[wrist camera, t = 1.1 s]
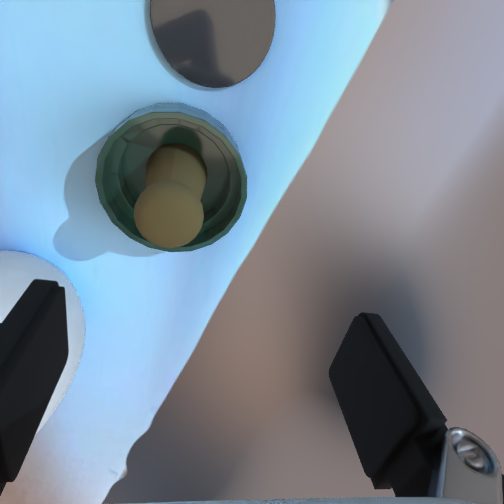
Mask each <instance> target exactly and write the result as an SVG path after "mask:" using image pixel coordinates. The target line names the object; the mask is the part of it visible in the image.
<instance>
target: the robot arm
mask: <svg viewBox="0 0 504 504" xmlns="http://www.w3.org/2000/svg"><path fill="white" fill-rule="evenodd" d="M68 354H69V347H68V330H67V313H66V296H65V288H64V287H62V286H59V284H58V282H57V281H53V280H43V279H34V280H33V281H32V282H31V283H30V285H29V286H28V288H27V289H26V290H25V292H24V293H23V294H22V296H21V297H20V298H19V300H18V301H17V303H16V304H15V305H14V307H13V308H12V309H11V311H10V312H9V313H8V315H7V316H6V318H5V319H4V320H3V322H2V323H0V496H1V493H2V491H3V489H4V487H5V485H6V482H13V481H14V480H15V479H16V477H17V475H18V473H19V471H20V468H21V466H22V464H23V461H24V459H25V457H26V455H27V452H28V450H29V448H30V445H31V443H32V441H33V438H34V436H35V434H36V432H37V429H38V427H39V425H40V422H41V420H42V418H43V416H44V413H45V411H46V409H47V406H48V404H49V402H50V400H51V397H52V395H53V393H54V390H55V388H56V386H57V383H58V381H59V379H60V377H61V374H62V372H63V370H64V367H65V365H66V363H67V359H68ZM329 377H330V381H331V383H332V386H333V389H334V391H335V394H336V397H337V399H338V402H339V405H340V407H341V410H342V413H343V415H344V418H345V421H346V424H347V426H348V429H349V432H350V434H351V437H352V440H353V442H354V445H355V448H356V450H357V453H358V456H359V459H360V461H361V464H362V467H363V469H364V472H365V474H366V475H367V476H368V477H369V478H371V480H372V483H373V486H374V489H391V488H393V490H394V493H395V495H396V496H395V497H366V498H365V497H364V498H314V499H313V498H311V499H269V500H230V501H192V502H160V503H129V504H504V475H503V474H502V472H501V466H500V463H499V460H498V459H497V456H496V455H495V453H494V452H493V451H492V449H491V448H490V447H489V446H488V445H487V444H486V443H485V442H484V441H483V440H482V439H481V438H479V437H478V436H477V435H475V434H474V433H472V432H470V431H468V430H466V429H463V428H459V427H454V428H450V429H449V430H448V429H447V427H446V426H445V422H446V421H447V419H446V418H445V416H444V415H443V413H442V411H441V410H440V408H439V407H438V405H437V404H436V402H435V401H434V399H433V397H432V396H431V394H430V393H429V391H428V390H427V388H426V387H425V385H424V383H423V382H422V380H421V379H420V377H419V376H418V374H417V373H416V371H415V369H414V368H413V366H412V365H411V363H410V362H409V360H408V359H407V357H406V356H405V354H404V352H403V351H402V349H401V348H400V346H399V345H398V343H397V341H396V340H395V338H394V337H393V335H392V334H391V332H390V331H389V329H388V327H387V326H386V325H385V323H384V321H383V320H382V318H381V317H380V316H379V315H378V314H373V313H360V314H359V315H358V316H356V317H354V319H353V321H352V323H351V325H350V327H349V329H348V331H347V333H346V335H345V337H344V340H343V341H342V344H341V346H340V348H339V350H338V352H337V354H336V356H335V358H334V360H333V362H332V364H331V366H330V369H329ZM126 504H128V503H126Z"/></svg>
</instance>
